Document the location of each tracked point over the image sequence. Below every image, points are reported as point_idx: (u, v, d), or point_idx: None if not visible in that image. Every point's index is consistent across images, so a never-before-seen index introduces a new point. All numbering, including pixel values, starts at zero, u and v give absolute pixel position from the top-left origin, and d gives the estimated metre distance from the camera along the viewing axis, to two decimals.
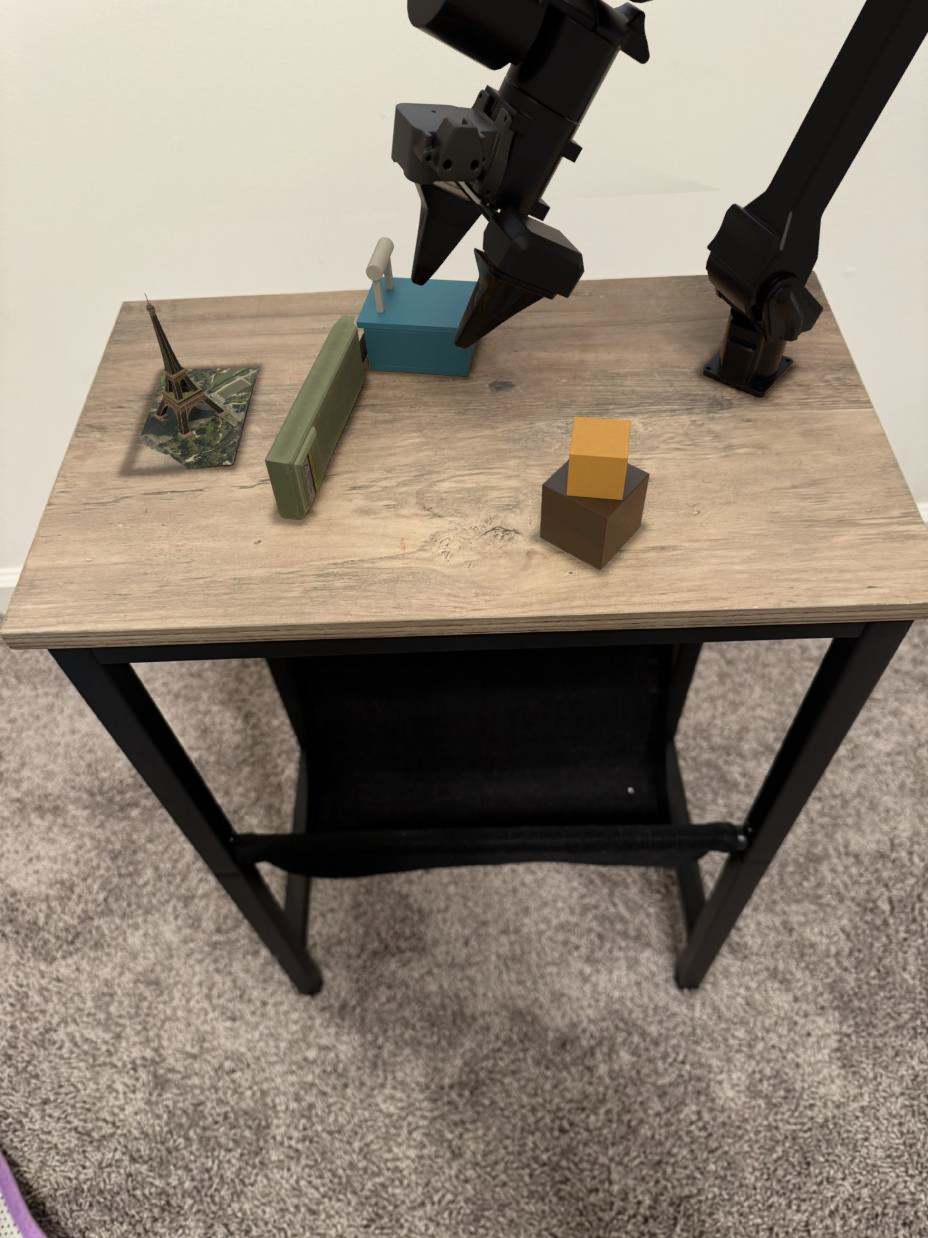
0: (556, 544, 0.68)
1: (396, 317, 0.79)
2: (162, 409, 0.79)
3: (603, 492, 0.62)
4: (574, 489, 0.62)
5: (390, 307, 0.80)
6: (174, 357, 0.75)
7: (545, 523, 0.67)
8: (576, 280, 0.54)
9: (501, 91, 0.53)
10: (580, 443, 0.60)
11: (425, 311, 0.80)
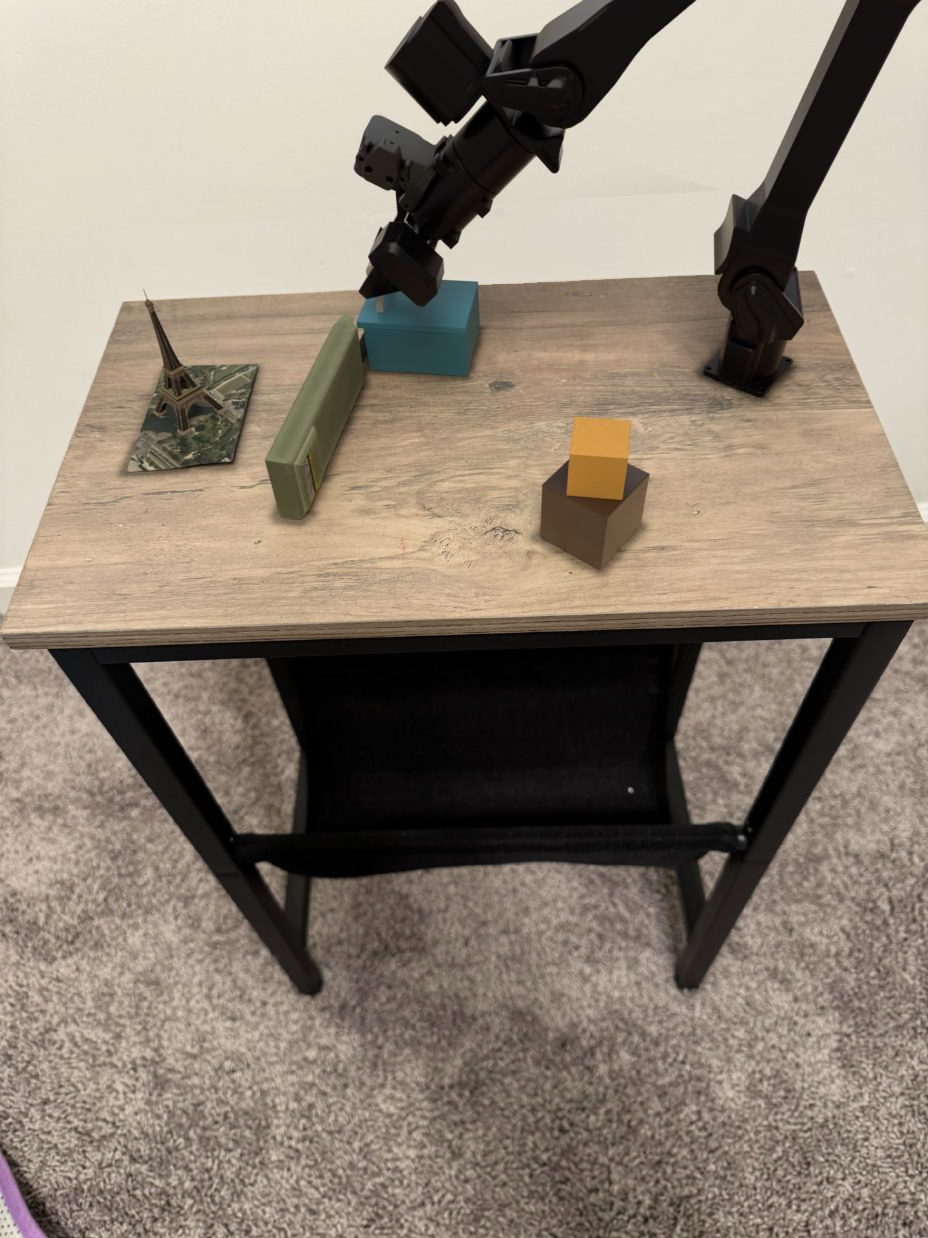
0: (556, 544, 0.68)
1: (396, 317, 0.79)
2: (161, 406, 0.79)
3: (603, 492, 0.62)
4: (574, 489, 0.62)
5: (390, 307, 0.80)
6: (173, 353, 0.75)
7: (545, 523, 0.67)
8: (426, 296, 0.70)
9: (448, 142, 0.69)
10: (580, 443, 0.60)
11: (425, 311, 0.80)
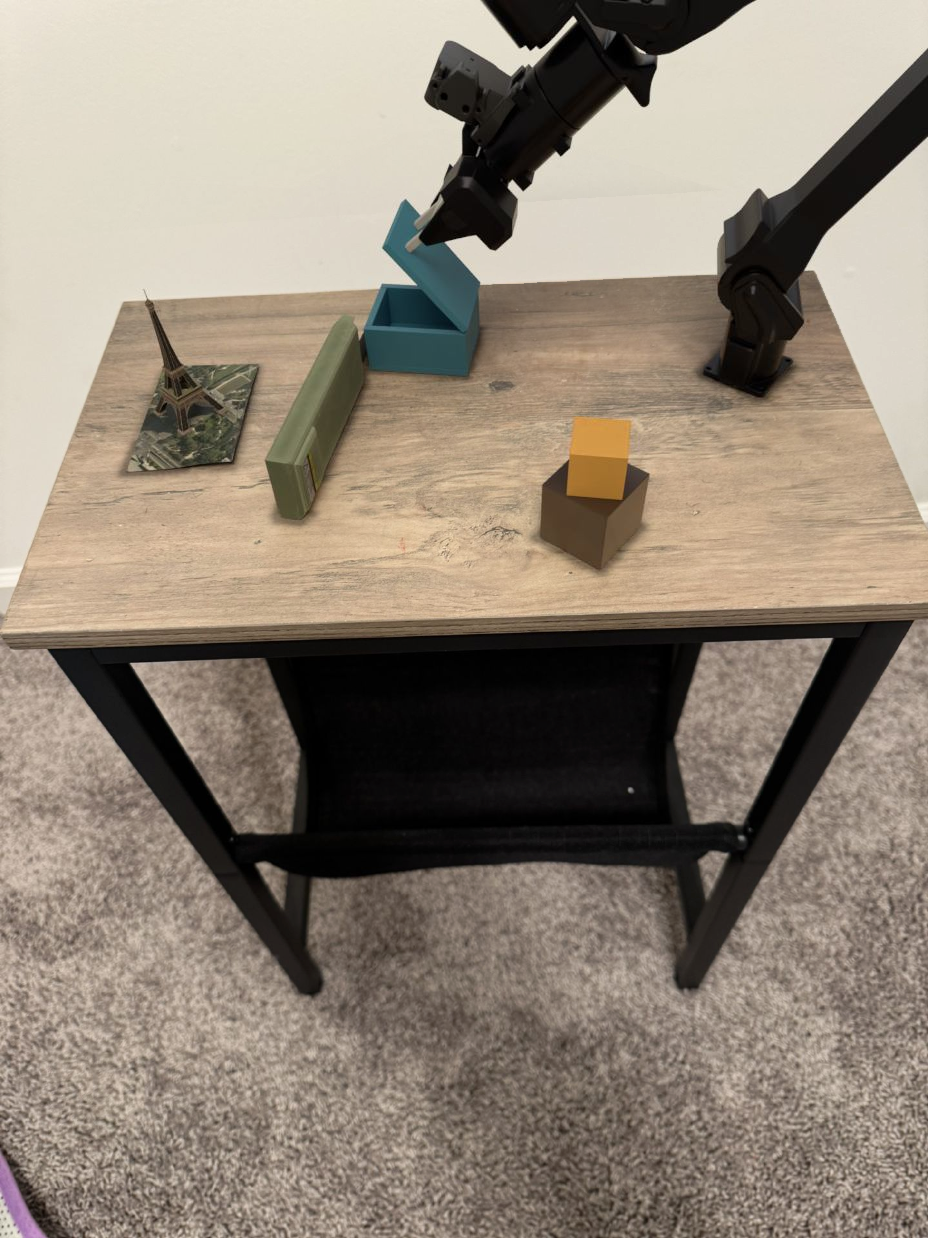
0: (556, 544, 0.68)
1: (419, 268, 0.75)
2: (161, 406, 0.79)
3: (603, 492, 0.62)
4: (574, 489, 0.62)
5: (415, 251, 0.75)
6: (173, 353, 0.75)
7: (545, 523, 0.67)
8: (500, 238, 0.65)
9: (528, 71, 0.64)
10: (580, 443, 0.60)
11: (441, 282, 0.77)
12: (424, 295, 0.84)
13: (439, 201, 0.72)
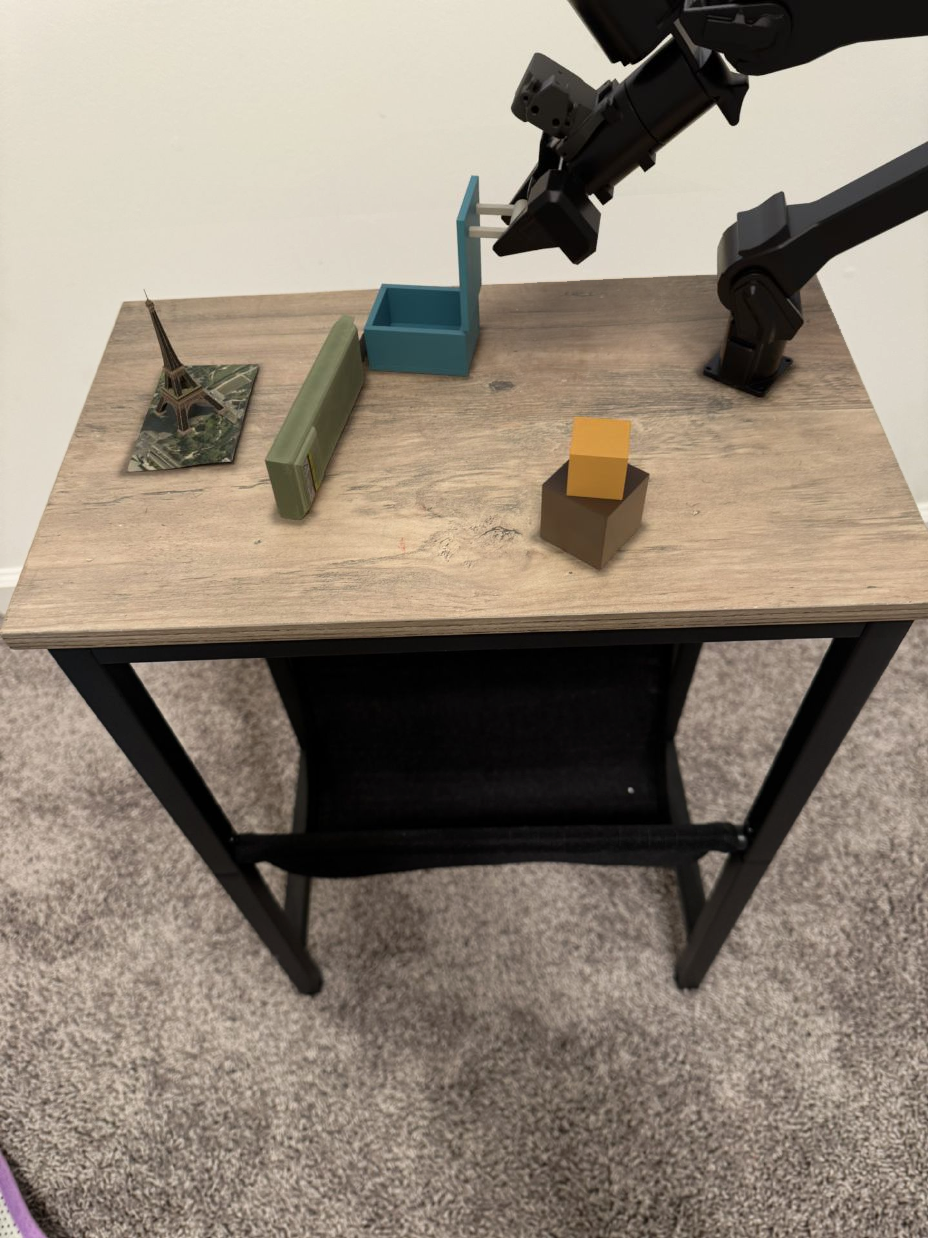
0: (556, 544, 0.68)
1: (467, 256, 0.73)
2: (161, 406, 0.79)
3: (603, 492, 0.62)
4: (574, 489, 0.62)
5: None
6: (173, 353, 0.75)
7: (545, 523, 0.67)
8: (584, 253, 0.64)
9: (616, 86, 0.64)
10: (580, 443, 0.60)
11: (471, 275, 0.76)
12: (424, 295, 0.84)
13: None
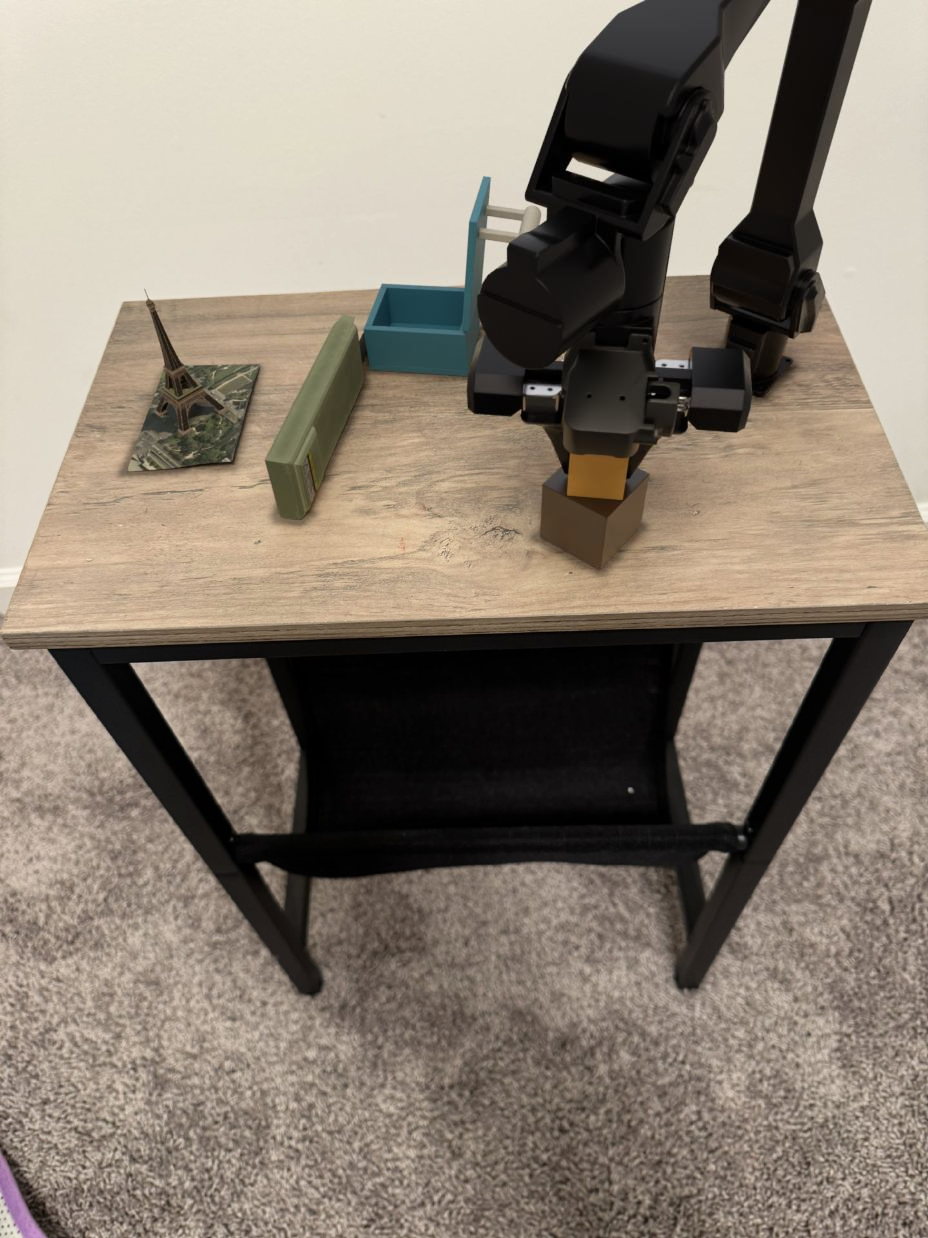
0: (556, 544, 0.68)
1: (475, 257, 0.73)
2: (162, 405, 0.79)
3: (603, 492, 0.62)
4: (574, 489, 0.62)
5: None
6: (174, 353, 0.75)
7: (545, 523, 0.67)
8: None
9: (606, 321, 0.50)
10: None
11: (475, 276, 0.76)
12: (424, 295, 0.84)
13: (531, 220, 0.72)
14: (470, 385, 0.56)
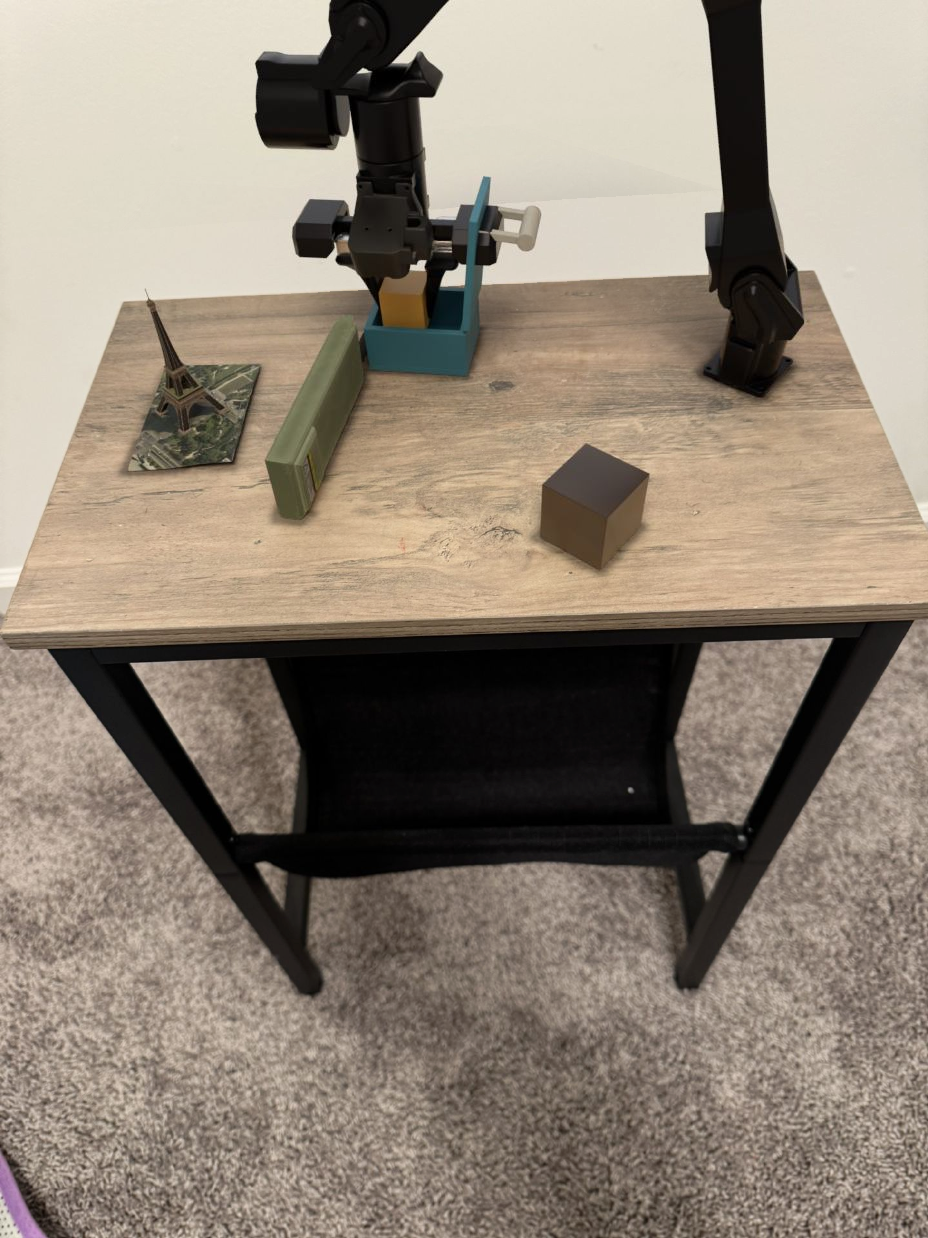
0: (556, 544, 0.68)
1: (475, 257, 0.73)
2: (163, 405, 0.79)
3: (410, 327, 0.81)
4: (388, 325, 0.81)
5: None
6: (174, 353, 0.75)
7: (545, 523, 0.67)
8: (503, 220, 0.75)
9: (378, 173, 0.69)
10: (388, 286, 0.79)
11: (475, 276, 0.76)
12: None
13: (531, 220, 0.72)
14: (294, 233, 0.74)
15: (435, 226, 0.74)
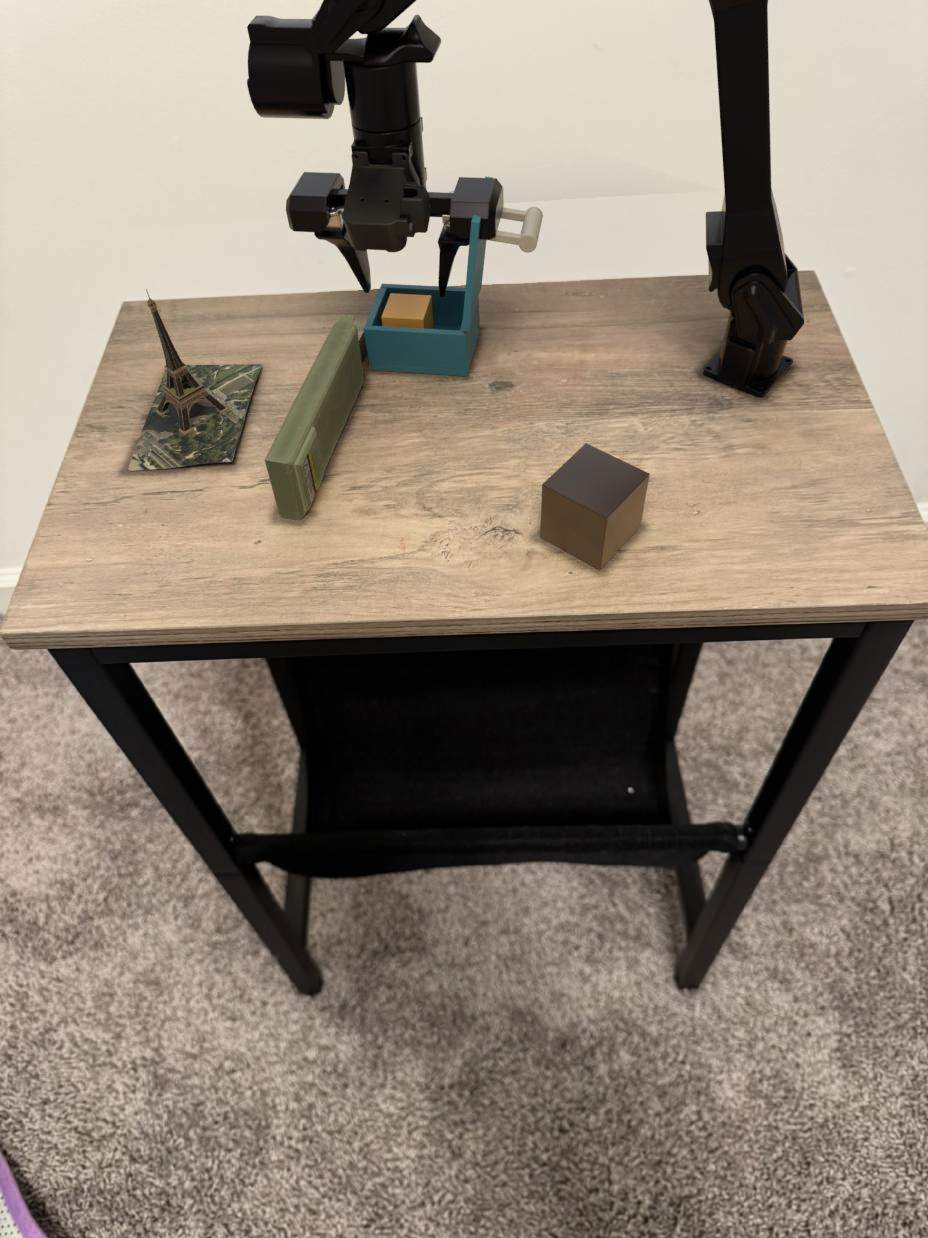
0: (556, 544, 0.68)
1: (477, 257, 0.73)
2: (163, 405, 0.79)
3: None
4: None
5: None
6: (175, 353, 0.75)
7: (545, 523, 0.67)
8: None
9: (374, 143, 0.67)
10: (390, 310, 0.81)
11: (476, 276, 0.76)
12: None
13: (533, 221, 0.72)
14: (287, 206, 0.72)
15: (433, 199, 0.72)
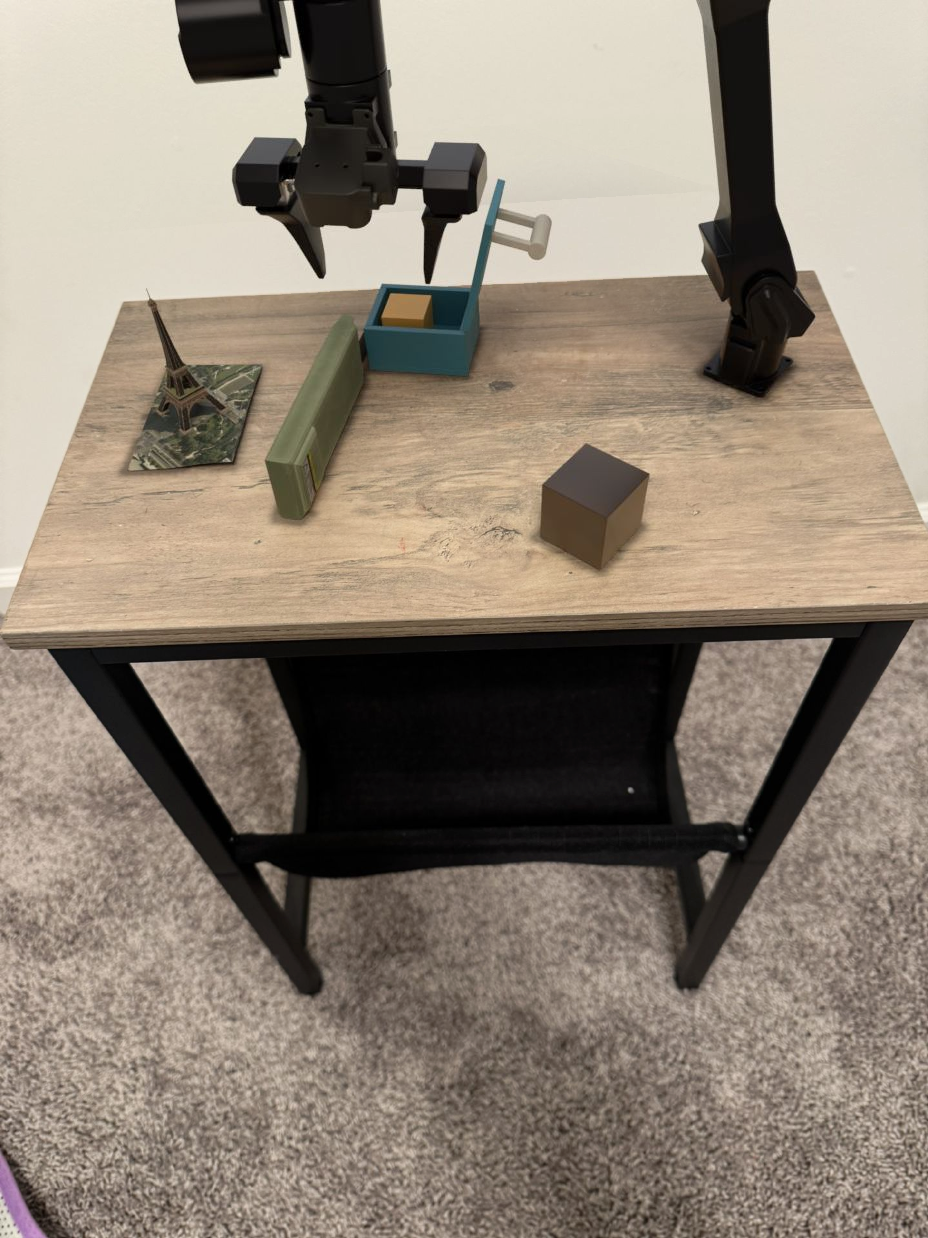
0: (556, 544, 0.68)
1: (485, 259, 0.73)
2: (164, 405, 0.79)
3: None
4: None
5: None
6: (176, 353, 0.75)
7: (545, 523, 0.67)
8: (486, 162, 0.63)
9: (331, 97, 0.56)
10: (390, 310, 0.81)
11: (481, 278, 0.76)
12: None
13: (543, 229, 0.73)
14: (234, 176, 0.62)
15: (404, 167, 0.61)
